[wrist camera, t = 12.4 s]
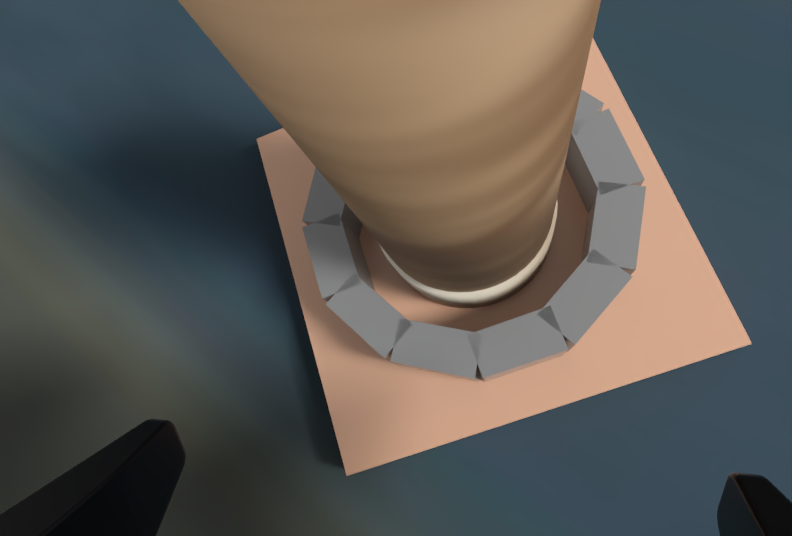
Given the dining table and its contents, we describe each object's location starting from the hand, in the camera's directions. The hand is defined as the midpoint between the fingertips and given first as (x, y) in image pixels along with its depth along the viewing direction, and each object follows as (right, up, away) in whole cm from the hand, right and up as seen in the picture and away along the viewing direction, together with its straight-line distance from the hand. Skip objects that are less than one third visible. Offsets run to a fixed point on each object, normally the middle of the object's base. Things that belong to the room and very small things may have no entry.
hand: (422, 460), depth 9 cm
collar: (+2, +4, +9) cm, 10 cm away
